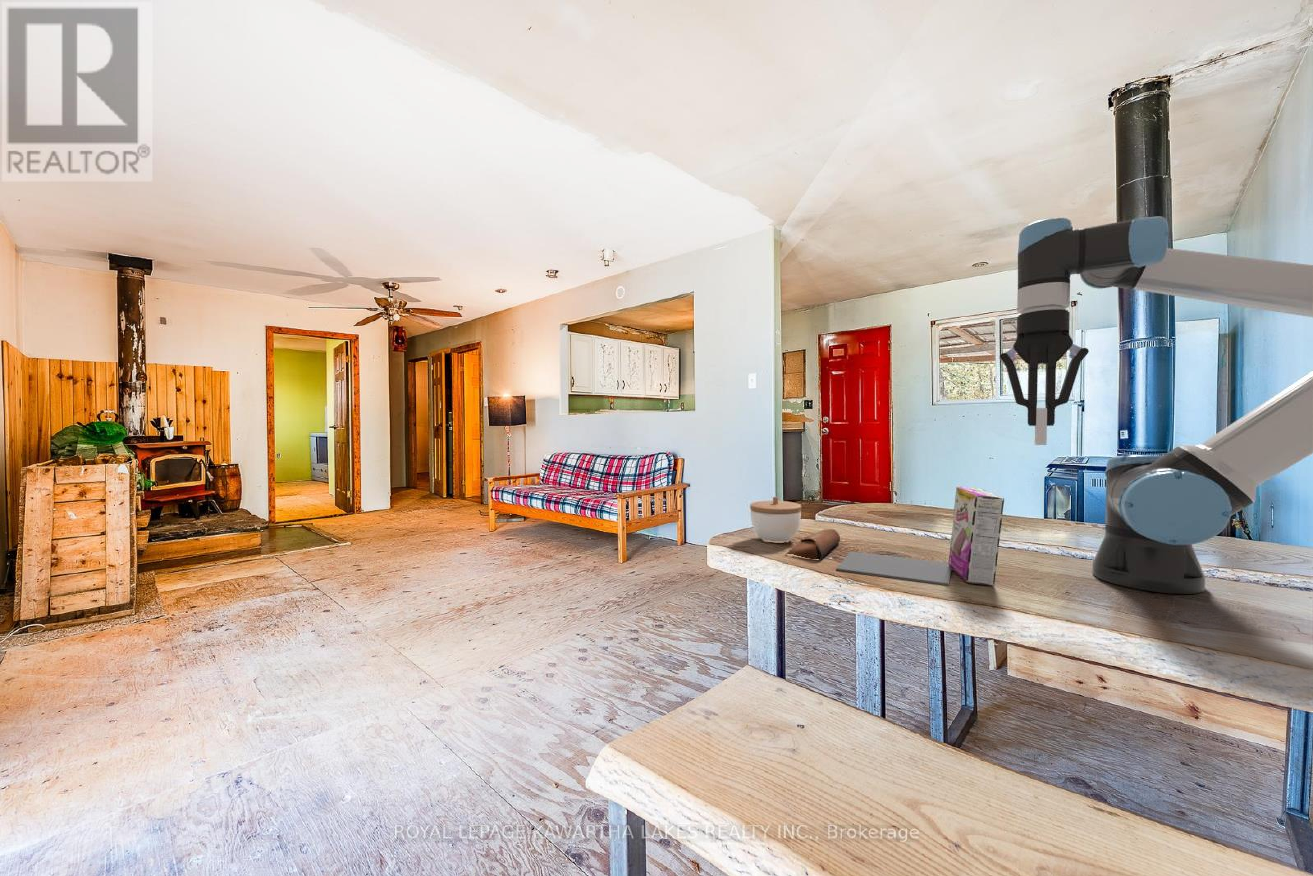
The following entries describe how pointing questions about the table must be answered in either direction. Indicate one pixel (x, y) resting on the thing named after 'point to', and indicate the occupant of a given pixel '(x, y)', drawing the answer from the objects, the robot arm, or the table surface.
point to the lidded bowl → (775, 519)
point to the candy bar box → (976, 535)
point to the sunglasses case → (816, 544)
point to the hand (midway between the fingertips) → (1040, 444)
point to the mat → (897, 567)
